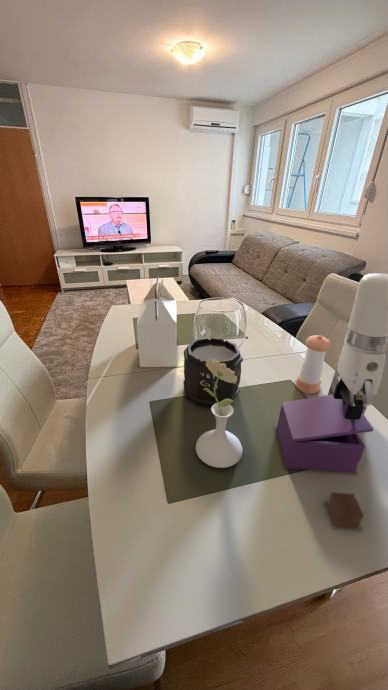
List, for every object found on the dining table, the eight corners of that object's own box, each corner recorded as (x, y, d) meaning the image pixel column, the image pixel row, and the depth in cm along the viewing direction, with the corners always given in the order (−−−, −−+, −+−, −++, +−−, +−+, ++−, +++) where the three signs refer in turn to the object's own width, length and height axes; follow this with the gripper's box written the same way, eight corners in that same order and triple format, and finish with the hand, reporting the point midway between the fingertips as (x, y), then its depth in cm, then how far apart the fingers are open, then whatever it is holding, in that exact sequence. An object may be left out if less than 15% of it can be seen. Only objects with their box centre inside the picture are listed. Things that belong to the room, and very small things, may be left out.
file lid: (349, 394, 74) (349, 378, 71) (373, 431, 63) (373, 413, 60) (282, 404, 76) (279, 389, 74) (293, 442, 65) (291, 425, 63)
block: (348, 507, 62) (354, 493, 60) (357, 529, 58) (363, 515, 56) (326, 506, 62) (331, 492, 60) (334, 527, 58) (339, 513, 56)
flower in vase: (251, 460, 72) (265, 373, 60) (211, 480, 67) (218, 390, 55) (220, 426, 82) (227, 346, 70) (184, 441, 77) (184, 357, 65)
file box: (334, 433, 80) (343, 408, 76) (354, 473, 69) (365, 446, 65) (276, 430, 81) (281, 405, 77) (286, 469, 70) (292, 442, 65)
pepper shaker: (293, 389, 97) (305, 337, 88) (297, 378, 103) (309, 328, 94) (317, 396, 94) (331, 343, 85) (320, 384, 100) (334, 333, 91)
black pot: (222, 371, 106) (225, 331, 98) (249, 401, 91) (255, 357, 84) (174, 381, 99) (173, 340, 92) (194, 416, 85) (196, 369, 77)
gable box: (176, 367, 107) (176, 292, 94) (139, 368, 106) (133, 292, 93) (176, 339, 127) (175, 273, 113) (145, 339, 126) (140, 273, 112)
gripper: (411, 360, 52) (381, 436, 60) (366, 320, 67) (347, 386, 75) (366, 359, 52) (343, 435, 61) (332, 320, 67) (317, 385, 76)
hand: (345, 407), depth 68 cm, fingers closed on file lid, 6 cm apart
